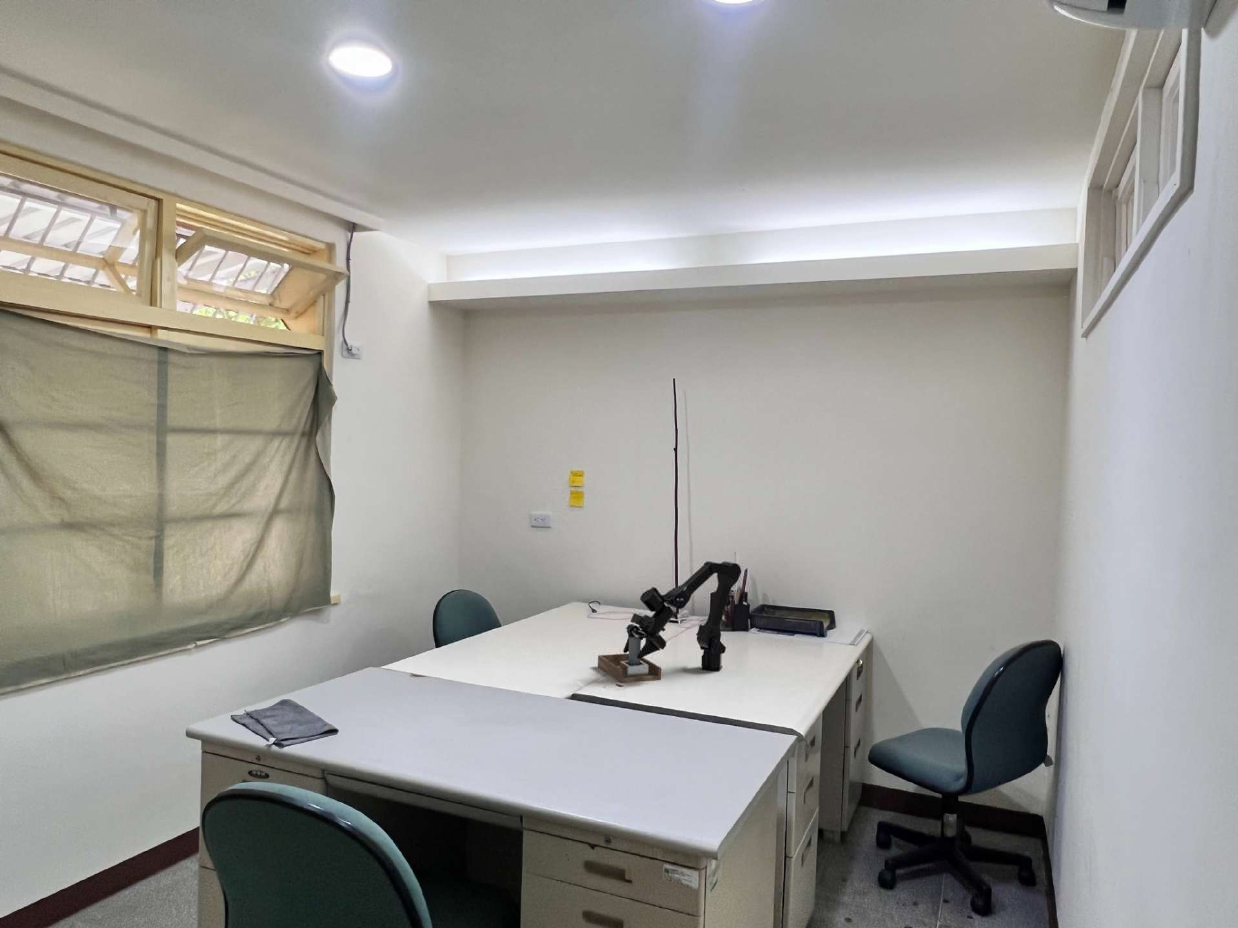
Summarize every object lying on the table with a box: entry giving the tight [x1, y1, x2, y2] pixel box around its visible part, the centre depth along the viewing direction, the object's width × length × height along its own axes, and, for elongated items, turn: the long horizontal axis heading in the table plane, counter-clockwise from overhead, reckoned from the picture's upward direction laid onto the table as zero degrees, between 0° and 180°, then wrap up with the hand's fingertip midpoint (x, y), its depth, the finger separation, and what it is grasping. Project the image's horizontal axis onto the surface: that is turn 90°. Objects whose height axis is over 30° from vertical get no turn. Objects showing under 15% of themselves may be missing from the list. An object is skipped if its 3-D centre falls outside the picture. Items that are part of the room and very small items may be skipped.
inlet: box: [620, 660, 648, 678], centre depth 283 cm, size 8×8×4 cm
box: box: [597, 652, 662, 684], centre depth 287 cm, size 15×23×4 cm, turn 21°
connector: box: [628, 637, 642, 666], centre depth 283 cm, size 4×4×13 cm
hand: (630, 655), depth 282 cm, fingers open, 9 cm apart
